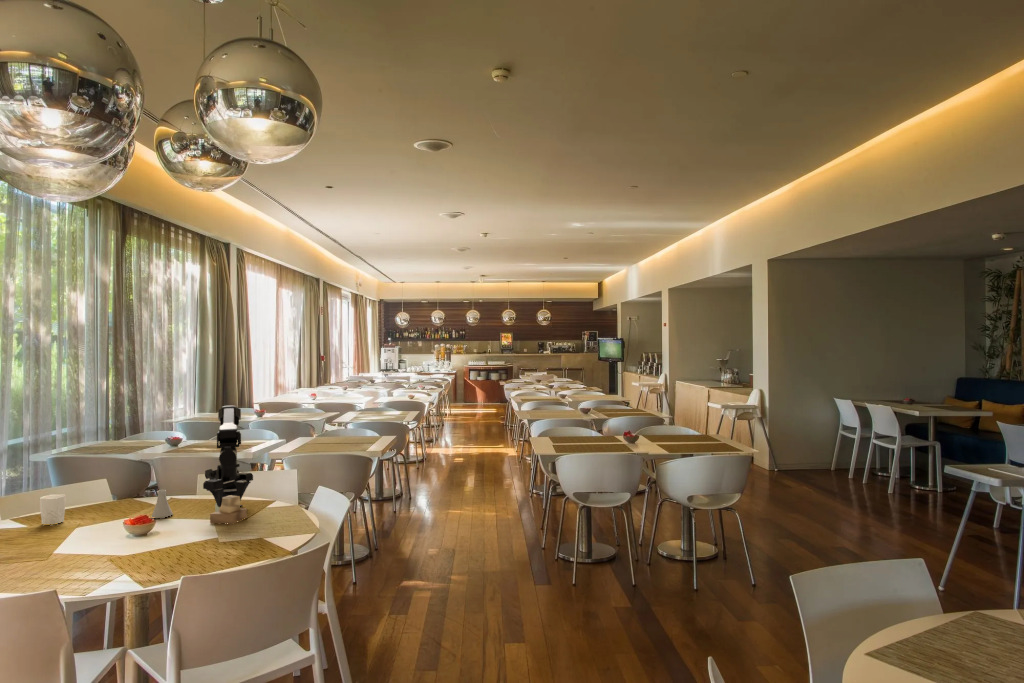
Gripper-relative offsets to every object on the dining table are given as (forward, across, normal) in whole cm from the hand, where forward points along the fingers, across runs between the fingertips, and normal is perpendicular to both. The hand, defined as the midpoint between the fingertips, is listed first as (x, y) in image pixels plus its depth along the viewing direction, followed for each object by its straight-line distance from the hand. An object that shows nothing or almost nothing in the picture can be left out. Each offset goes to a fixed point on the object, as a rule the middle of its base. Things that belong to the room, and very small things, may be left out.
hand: (229, 504), depth 246 cm
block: (+6, -7, -8) cm, 13 cm away
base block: (+6, +1, +1) cm, 6 cm away
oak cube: (+2, 0, 0) cm, 2 cm away
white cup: (+6, +26, -60) cm, 66 cm away
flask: (+6, +5, -29) cm, 30 cm away
